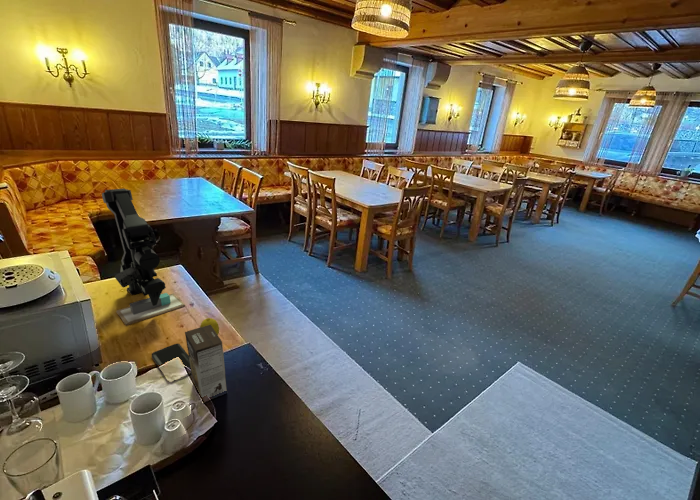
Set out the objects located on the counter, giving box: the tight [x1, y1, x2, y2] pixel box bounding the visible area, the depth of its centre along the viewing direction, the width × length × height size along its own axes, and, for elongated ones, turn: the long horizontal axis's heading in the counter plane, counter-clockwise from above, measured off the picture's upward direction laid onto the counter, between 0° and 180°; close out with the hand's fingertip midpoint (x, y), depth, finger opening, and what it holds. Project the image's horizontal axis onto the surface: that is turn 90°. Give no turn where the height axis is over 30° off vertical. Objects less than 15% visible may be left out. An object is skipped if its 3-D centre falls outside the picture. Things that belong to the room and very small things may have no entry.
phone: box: [151, 343, 191, 368], centre depth 97 cm, size 8×1×15 cm
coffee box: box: [184, 325, 228, 397], centre depth 86 cm, size 9×6×16 cm
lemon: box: [199, 317, 220, 336], centre depth 106 cm, size 6×6×8 cm
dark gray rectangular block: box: [129, 292, 171, 315], centre depth 121 cm, size 3×12×3 cm, turn 136°
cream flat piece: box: [115, 293, 186, 326], centre depth 122 cm, size 11×19×1 cm, turn 136°
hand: (150, 300), depth 121 cm, fingers open, 9 cm apart
